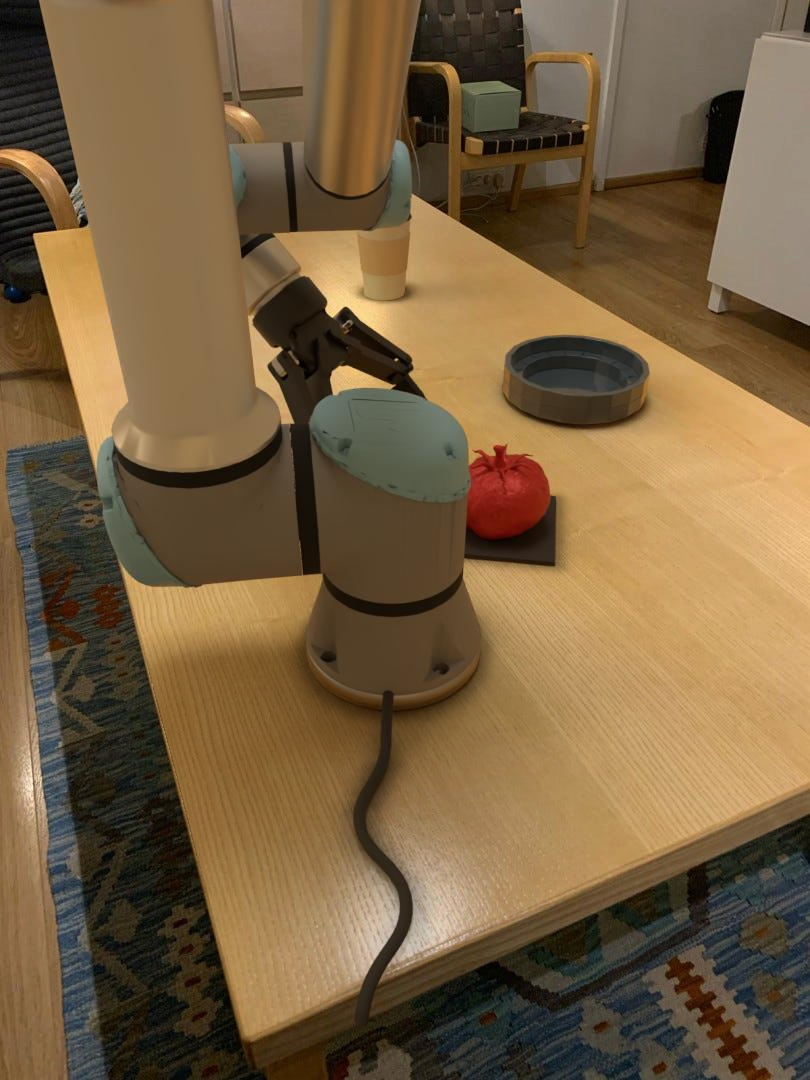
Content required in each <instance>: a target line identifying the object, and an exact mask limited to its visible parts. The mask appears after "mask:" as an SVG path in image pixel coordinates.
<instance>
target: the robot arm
mask: <svg viewBox="0 0 810 1080" xmlns="http://www.w3.org/2000/svg"><path fill="white" fill-rule="evenodd" d="M38 2H39V7H40V11H41V15H42V21H43V24H44V28H45V29H44V30H45V33H46V38H47V42H48V46H49V52H50V56H51V60H52V65H53V69H54V75H55V79H56V83H57V87H58V92H59V96H60V101H61V106H62V109H63V115H64V120H65V123H66V128H67V132H68V133H67V134H68V136H69V141H70V146H71V150H72V154H73V159H74V164H75V168H76V169H75V170H76V173H77V177H78V181H79V186H80V190H81V195H82V199H83V204H84V209H85V213H86V216H87V217H86V219H87V222H88V226H89V232H90V235H91V236H90V237H91V240H92V245H93V249H94V253H95V258H96V263H97V268H98V272H99V275H100V281H101V284H102V289H103V294H104V299H105V303H106V307H107V313H108V317H109V320H110V325H111V329H112V333H113V334H112V335H113V339H114V343H115V347H116V352H117V357H118V361H119V366H120V370H121V374H122V380H123V383H124V388H125V393H126V396H127V401H128V402H126V403H125V404H124V405H123V407H122V408H121V409H120V410H119V411H118V412H117V414H116V416H115V417H114V419H113V422H112V424H111V436H109V437H107V438H105V439H104V441H103V442H102V443H101V444H100V447H99V449H98V454H97V458H96V459H97V460H96V485H97V491H98V496H99V499H100V501H101V504H102V508H103V509H102V518H103V522H104V525H105V529H106V532H107V535H108V538H109V541H110V543H111V546H112V548H113V550H114V552H115V555H116V557H117V558H118V560H119V562H120V564H121V566H122V567H123V569H124V570H125V572H126V573H127V574H128V575H129V576H130V577H131V578H132V579H134V580H135V581H136V582H138V583H139V584H141V585H144V586H146V587H151V588H152V587H153V588H173V587H174V588H176V587H179V588H180V587H182V588H185V589H188V588H189V589H190V588H195V589H197V588H199V587H202V586H204V585H214V584H223V583H234V582H245V581H254V580H267V579H277V578H278V579H279V578H290V577H302V576H311V575H314V576H315V575H322V581H321V583H320V587H319V589H318V592H317V595H316V598H315V601H314V604H313V607H312V610H311V613H310V615H309V618H308V622H307V626H306V630H305V647H306V657H307V662H308V666H309V668H310V671H311V672H312V675H314V677H315V678H316V680H317V681H318V682H319V683H320V685H322V687H324V688H325V689H326V690H327V691H328V692H330V693H331V694H332V695H334V696H336V697H337V698H339V699H341V700H343V701H345V702H348V703H349V704H352V705H355V706H359V707H362V708H366V709H372V710H378V711H381V715H380V741H379V742H380V743H379V744H380V745H379V751H378V756H377V759H376V762H375V765H374V768H373V770H372V771H371V773H370V775H369V777H368V778H367V780H366V782H365V783H364V785H363V786H362V788H361V790H360V792H359V794H358V795H357V799H356V801H355V804H354V808H353V813H352V814H353V816H352V818H353V821H352V822H353V823H352V824H353V828H354V833H355V835H356V839H357V840H358V843H359V845H361V847H362V849H363V850H364V852H365V853H366V854H367V856H368V857H369V858H370V859H371V860H372V861H373V862H374V863H375V864H376V865H377V866H378V867H379V868H380V870H381V871H382V872H383V873H384V874H385V875H386V876H387V877H388V879H389V880H390V882H391V883H392V884H393V886H394V888H395V890H396V892H397V895H398V902H399V911H398V912H399V914H398V919H397V921H396V924H395V927H394V929H393V931H392V933H391V935H390V936H389V938H388V939H387V941H386V943H384V946H383V947H382V948H381V949H380V951H379V952H378V954H377V956H376V957H375V959H374V960H373V962H372V963H371V965H370V967H369V969H368V971H367V972H366V974H365V977H364V979H363V982H362V984H361V987H360V990H359V994H358V997H357V1002H356V1006H355V1012H354V1020H353V1021H354V1023H355V1025H356V1027H359V1028H362V1027H365V1026H366V1025H367V1023H369V1019H370V1012H371V1008H372V1004H373V1003H372V1002H373V999H374V996H375V993H376V990H377V987H378V985H379V982H380V980H381V978H382V977H383V974H384V973H385V972H386V970H387V968H388V966H389V965H390V963H391V962H392V960H393V959H394V957H395V956H396V954H397V953H398V951H399V949H400V948H401V946H402V945H403V944H404V941H405V940H406V938H407V936H408V934H409V931H410V928H411V925H412V922H413V915H414V902H413V895H412V892H411V888H410V886H409V883H408V881H407V879H406V877H405V876H404V874H403V872H402V871H401V870H400V869H399V867H398V866H397V865H396V864H395V863H394V862H393V860H392V859H390V858H389V856H388V855H387V854H386V853H385V852H384V851H383V850H382V849H381V848H380V847H379V846H378V845H377V844H376V841H374V840H373V838H372V836H371V835H370V833H369V831H368V828H367V821H366V816H367V815H366V814H367V809H368V805H369V802H370V800H371V798H372V796H373V794H374V792H375V791H376V789H377V787H378V785H379V784H380V782H381V781H382V779H383V777H384V774H385V772H386V771H387V768H388V765H389V763H390V758H391V754H392V753H391V752H392V745H393V744H392V743H393V714H394V713H393V712H394V711H406V710H413V709H414V710H415V709H418V708H423V707H427V706H430V705H433V704H435V703H438V702H440V701H443V700H444V699H447V698H448V697H450V696H451V695H453V694H455V693H456V692H457V691H459V690H460V689H461V688H462V687H463V686H464V685H466V683H467V682H468V681H469V680H470V679H471V677H473V674H474V673H475V671H476V669H477V667H478V664H479V661H480V655H481V644H482V630H481V625H480V622H479V619H478V616H477V613H476V611H475V608H474V604H473V602H472V599H471V596H470V594H469V591H468V588H467V585H466V581H465V579H464V564H465V558H464V552H465V534H466V516H467V498H468V492H469V490H470V486H471V477H470V473H469V465H470V458H469V442H468V438H467V435H466V432H465V430H464V428H463V426H462V425H461V423H460V422H459V421H458V419H457V418H456V417H454V416H453V414H452V413H450V412H449V411H448V410H446V409H445V408H444V407H442V406H441V405H439V404H437V403H434V402H432V401H430V400H428V398H427V397H426V395H425V393H424V391H422V389H421V388H420V387H419V385H418V384H417V383H416V382H415V381H414V379H413V378H412V377H411V375H410V373H412V372H413V371H414V369H415V367H414V365H413V357H412V356H411V355H410V354H409V353H407V352H406V351H404V350H403V349H402V348H400V347H399V346H398V345H396V344H395V343H393V342H391V341H390V340H389V339H388V338H386V337H385V336H383V335H382V334H380V333H379V332H378V331H376V330H374V329H373V328H372V327H371V326H370V325H368V324H367V323H365V322H363V320H361V319H360V318H359V317H358V316H357V315H356V314H355V313H354V311H352V309H351V308H349V307H348V306H343V307H342V308H341V309H339V311H338V312H337V313H336V314H335V315H334V316H331V315H329V313H328V312H327V310H326V308H327V306H328V299H327V298H326V296H325V295H324V294H323V292H322V291H321V290H320V289H319V288H318V286H317V285H316V284H315V283H314V282H313V280H312V279H311V278H310V277H309V276H306V275H302V276H301V273H302V266H301V265H300V264H299V262H298V261H297V260H296V259H295V258H294V256H293V255H292V254H291V252H290V251H289V250H288V249H287V248H286V246H285V245H284V244H283V243H282V242H281V241H280V239H278V237H277V236H276V235H275V234H290V233H310V232H311V233H312V232H342V231H343V232H345V231H358V230H362V231H373V230H375V229H379V228H390V227H398V226H401V225H403V224H404V223H405V222H406V221H407V219H408V217H409V214H411V209H412V197H413V178H412V165H411V156H410V152H409V149H408V147H407V145H406V144H405V142H403V141H401V140H398V139H397V135H398V129H399V123H400V119H401V113H402V107H403V102H404V101H403V100H404V97H405V92H406V91H405V90H406V86H407V85H406V84H407V79H408V73H409V69H410V63H411V58H412V53H413V47H414V41H415V34H416V30H417V25H418V19H419V13H420V9H421V8H420V7H421V3H422V0H301V47H302V48H301V52H302V53H301V54H302V58H301V59H302V61H301V62H302V119H303V120H302V122H303V123H302V124H303V128H302V129H303V130H302V131H303V141H283V142H253V143H251V142H250V143H229V134H228V133H229V132H228V125H227V115H226V107H225V99H224V98H225V97H224V89H223V79H222V72H221V71H222V70H221V61H220V54H219V52H220V51H219V45H218V36H217V26H216V18H215V8H214V1H213V0H38ZM251 316H252V317H253V318H252V320H251V322H252V324H251V325H252V326H253V327H254V329H255V330H256V331H257V332H258V333H259V335H260V336H261V337H262V339H263V340H265V342H266V343H267V344H268V345H269V347H271V348H272V349H278V348H281V351H280V352H279V353H277V354H276V356H275V357H273V359H272V360H270V361H269V363H268V364H267V365H266V366H267V369H268V372H269V373H270V374H271V375H272V377H273V378H274V380H275V381H276V382H277V384H278V386H279V388H280V391H281V393H282V396H283V398H284V401H285V403H286V406H287V408H288V411H289V413H290V416H291V418H292V421H293V423H282V415H281V411H280V406H279V405H278V404H277V402H276V400H275V399H274V398H273V397H272V396H271V395H270V394H269V393H267V392H266V391H264V390H263V389H261V388H260V387H258V386H257V385H256V375H255V368H254V366H255V365H254V358H253V349H252V342H251V331H250V330H251V329H250V323H249V317H251ZM396 359H397V360H396ZM339 367H349V368H352V369H353V370H354V369H355V370H357V371H359V372H362V373H364V374H366V375H368V376H371V377H373V378H375V379H377V380H380V381H382V382H384V383H387V384H389V385H392V388H382V387H355V388H349V389H344V390H340V391H339V392H338V393H337V395H335V394H334V392H333V386H332V383H331V382H332V381H331V377H332V375H333V371H335V370H337V369H338V368H339Z"/></svg>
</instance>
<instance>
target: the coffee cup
mask: <svg viewBox="0 0 810 1080" xmlns="http://www.w3.org/2000/svg"><path fill="white" fill-rule="evenodd" d="M412 217H413V216H412V213H410V214H409V217H408V219H407V221H406V222H405V223H404V224H403V225H401V226H398V227H390V228H379V229H375V230H373V231H362V230H357V231H356V236H357V237H356V238H357V246H358V255H359V264H360V270H361V274H362V284H363V292H364V293H363V294H364V296H365V297H366V298H368V299H370V300H374V301H394V300H397V299H400V298H402V297H404V295H405V291H406V280H407V270H408V264H409V263H408V262H409V250H410V239H411V231H410V230H411V220H412Z"/></svg>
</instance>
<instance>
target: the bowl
mask: <svg viewBox="0 0 810 1080" xmlns="http://www.w3.org/2000/svg"><path fill="white" fill-rule="evenodd" d="M649 367H650V365H649V363H648V362H647V361H646V360H645V358H644V357H643V356H642V355H641V354H640V353H638V352H637V351H635V350H633V349H631V348H630V347H628V346H626V345H624V344H621V343H618V342H615V341H613V340H608V339H604V338H599V337H594V336H589V335H578V334H553V335H543V336H538V337H534V338H529V339H526V340H524V341H521V342H520V343H516V344H515V345H513V346H512V347H511V348H510V349H509V350H508V351H507V352H506V354H505V357H504V366H503V376H502V377H503V379H502V392H503V395H504V396H505V397H506V399H507V401H508V402H510V404H512V405H513V406H515V407H516V408H518V409H519V410H520V411H522V412H524V413H527V414H530V415H531V416H534V417H536V418H540V419H543V420H548V421H552V422H557V423H561V424H573V425H595V424H606V423H612V422H615V421H619V420H622V419H626V418H628V417H630V416H632V415H633V414H635V413H636V412H638V411H639V410H640V409H641V407H642V406H643V404H644V403H645V401H646V396H647V391H648V385H649V380H650V374H651V371H650V368H649Z"/></svg>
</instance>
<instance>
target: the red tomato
mask: <svg viewBox="0 0 810 1080" xmlns="http://www.w3.org/2000/svg"><path fill="white" fill-rule="evenodd" d="M507 448H508V442H507V443H506V444H505V445H500V444H495V445H493V447H492V449H493V451H494V453H495V455H489V454H487V453H486V452H484V451H483V450H482V449H477V450H474V449H472V452H473V453H475V454H477V453H478V454H479V455H480V456H479V457H476V458H475V460H474V461H473V462H472V463H469V473H470V477H471V486H470V490H469V492H468V498H467V516H466V527H468V528H469V529H471V530H473V531H474V532H475V533H476V534H477V535H478V536H480V537H482V538H484V539H490V540H496V539H502V538H508V537H514V536H517V535H519V534H521V533H523V532H525V531H526V530H529V529H531V528H532V527H534V526H535V525H536V524H537V523H538V522H539V521H540V519H541V518H542V517H543V516H544V515H545V513H546V510H547V508H548V506H549V503H550V496H551V490H550V489H551V488H550V483H549V479H548V477H547V476H546V473H545V470H544V469H543V467H542V466H541V464H540V463H539V462H537V461H535V460H534V459H532V458H530V457H534V455H533V454H528V453H520V454H519V453H514V454H507V450H508V449H507ZM528 457H529V458H528Z"/></svg>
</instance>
